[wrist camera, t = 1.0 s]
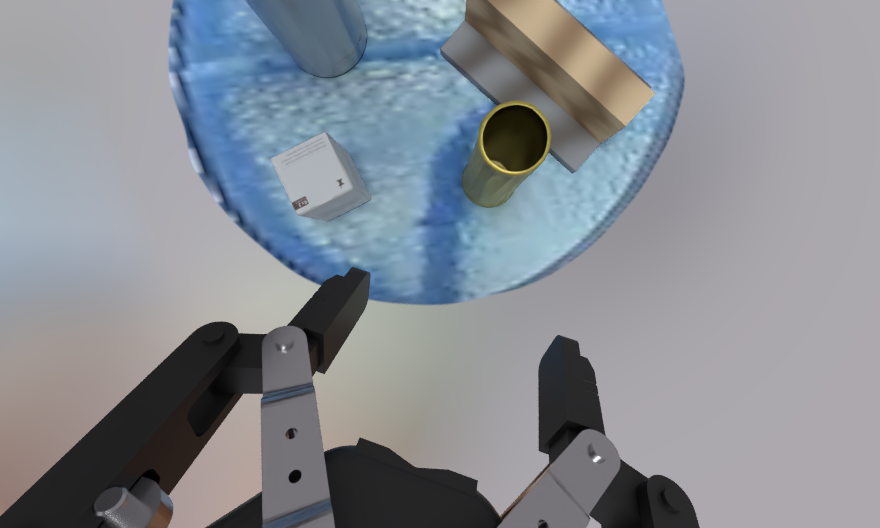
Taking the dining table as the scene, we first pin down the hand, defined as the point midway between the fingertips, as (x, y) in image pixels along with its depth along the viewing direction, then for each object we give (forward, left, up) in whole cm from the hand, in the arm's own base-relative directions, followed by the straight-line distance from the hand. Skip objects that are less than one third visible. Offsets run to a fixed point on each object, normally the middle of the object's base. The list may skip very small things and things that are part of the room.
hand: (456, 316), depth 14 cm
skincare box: (-16, -1, -24) cm, 29 cm away
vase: (-4, +11, -24) cm, 27 cm away
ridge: (-7, +24, -24) cm, 35 cm away
